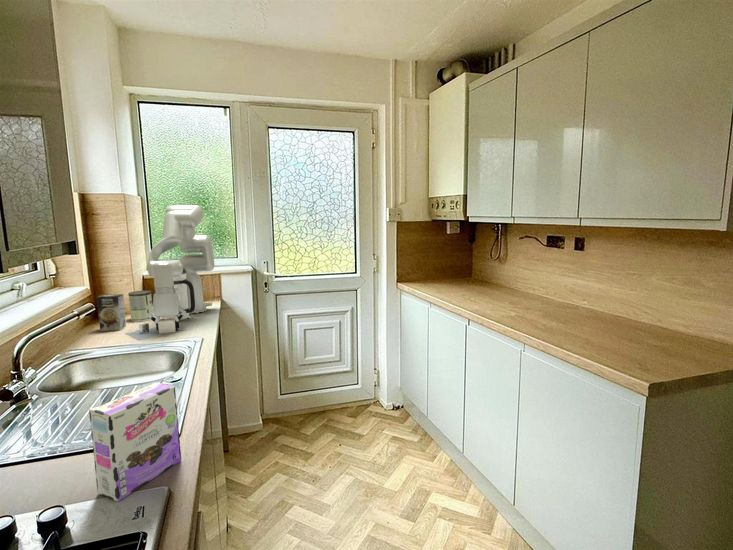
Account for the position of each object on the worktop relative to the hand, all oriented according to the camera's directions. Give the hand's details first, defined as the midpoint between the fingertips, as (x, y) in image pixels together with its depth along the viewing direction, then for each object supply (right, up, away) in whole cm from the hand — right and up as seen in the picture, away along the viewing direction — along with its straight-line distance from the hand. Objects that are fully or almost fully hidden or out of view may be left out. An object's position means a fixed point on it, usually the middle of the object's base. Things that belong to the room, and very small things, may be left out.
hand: (168, 330), depth 177 cm
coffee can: (-27, +2, +29) cm, 40 cm away
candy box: (+44, -15, -99) cm, 110 cm away
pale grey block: (-9, -1, -3) cm, 9 cm away
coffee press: (-6, +1, +23) cm, 24 cm away
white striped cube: (0, 0, 0) cm, 0 cm away
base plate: (-5, -2, -1) cm, 5 cm away
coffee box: (-31, -1, +10) cm, 32 cm away
